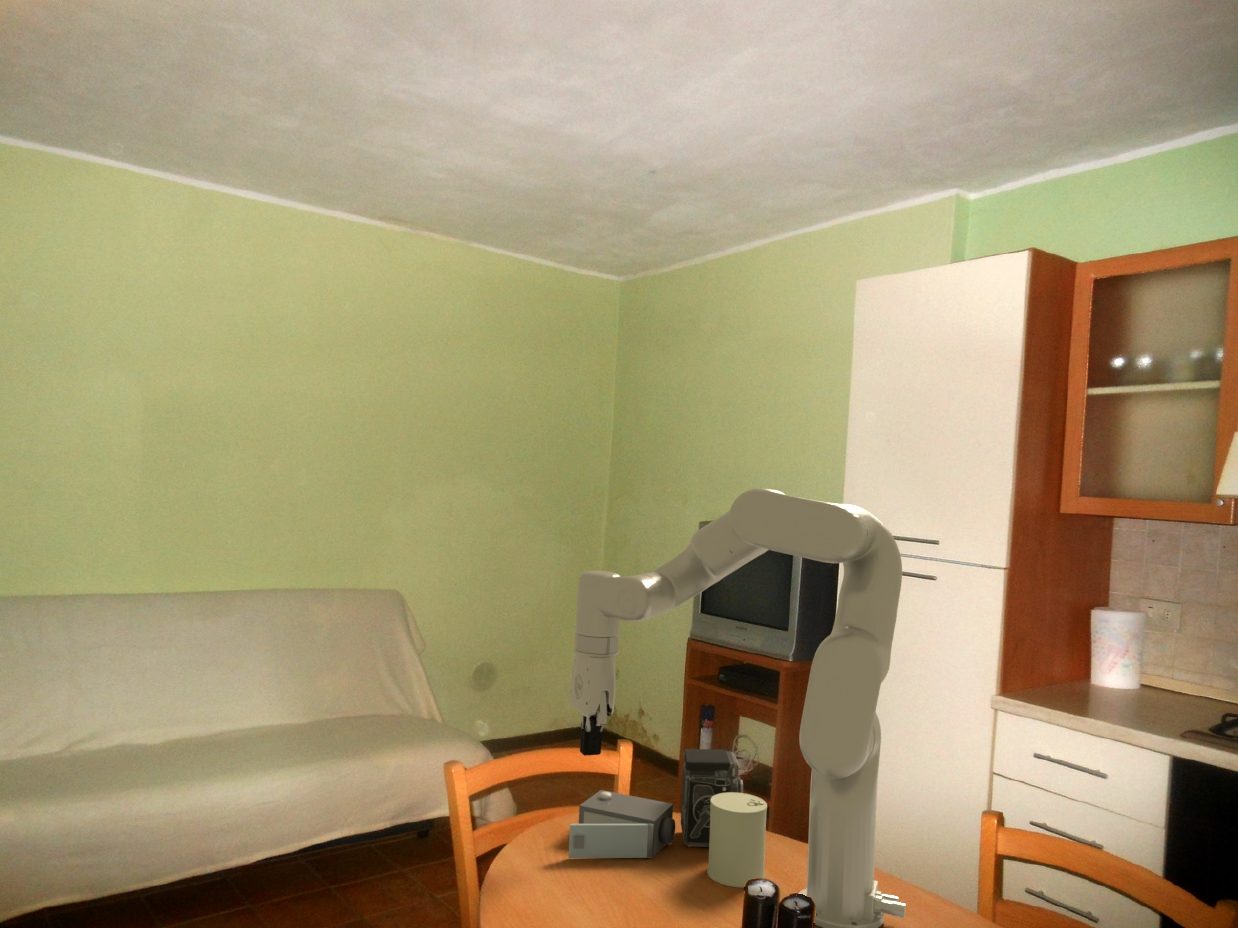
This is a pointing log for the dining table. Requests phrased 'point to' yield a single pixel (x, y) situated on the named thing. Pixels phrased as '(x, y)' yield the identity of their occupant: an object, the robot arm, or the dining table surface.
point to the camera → (705, 789)
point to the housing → (630, 814)
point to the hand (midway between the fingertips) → (590, 753)
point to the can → (736, 838)
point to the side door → (611, 840)
